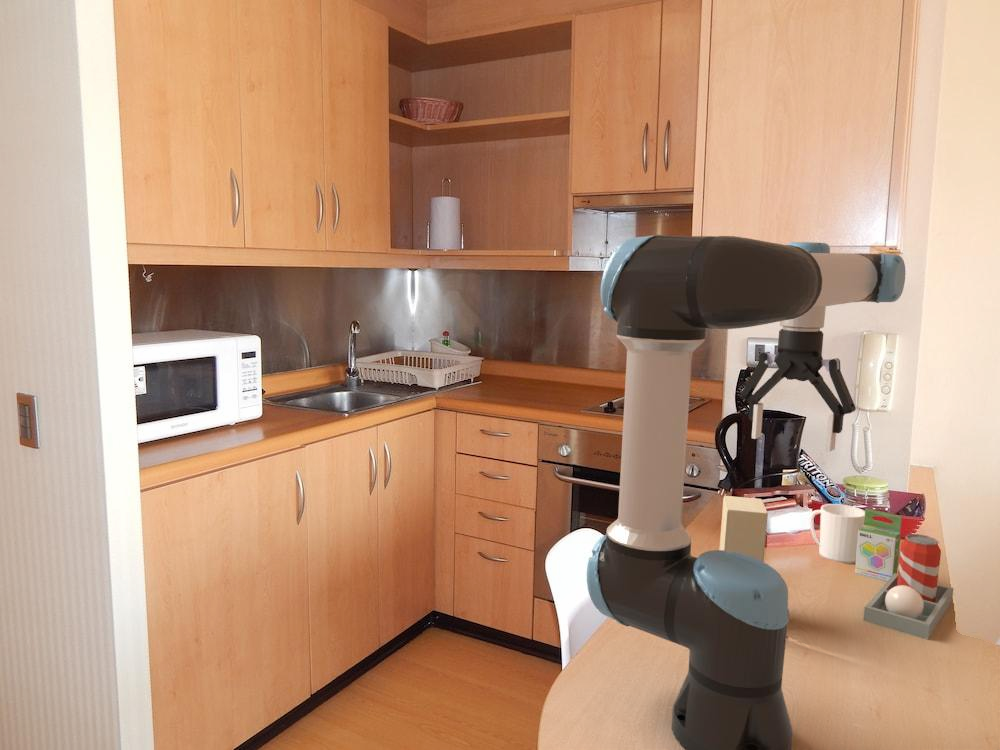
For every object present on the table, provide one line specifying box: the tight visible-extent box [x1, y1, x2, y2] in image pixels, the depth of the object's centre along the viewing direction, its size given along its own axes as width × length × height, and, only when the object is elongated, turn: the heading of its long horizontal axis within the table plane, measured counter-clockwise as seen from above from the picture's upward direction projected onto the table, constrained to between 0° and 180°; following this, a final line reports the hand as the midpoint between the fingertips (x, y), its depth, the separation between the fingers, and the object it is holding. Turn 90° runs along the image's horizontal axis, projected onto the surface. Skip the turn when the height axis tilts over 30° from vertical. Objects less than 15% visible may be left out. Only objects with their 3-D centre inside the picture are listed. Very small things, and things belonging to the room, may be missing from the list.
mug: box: [809, 503, 865, 565], centre depth 166 cm, size 11×9×10 cm
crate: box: [862, 573, 955, 640], centre depth 139 cm, size 20×10×3 cm, turn 140°
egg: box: [885, 585, 924, 619], centre depth 135 cm, size 6×6×6 cm
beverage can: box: [897, 533, 942, 603], centre depth 142 cm, size 6×6×12 cm
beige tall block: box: [718, 495, 769, 563], centre depth 134 cm, size 8×7×21 cm
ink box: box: [854, 508, 903, 583], centre depth 154 cm, size 7×4×13 cm, turn 50°
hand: (792, 443), depth 144 cm, fingers open, 13 cm apart
